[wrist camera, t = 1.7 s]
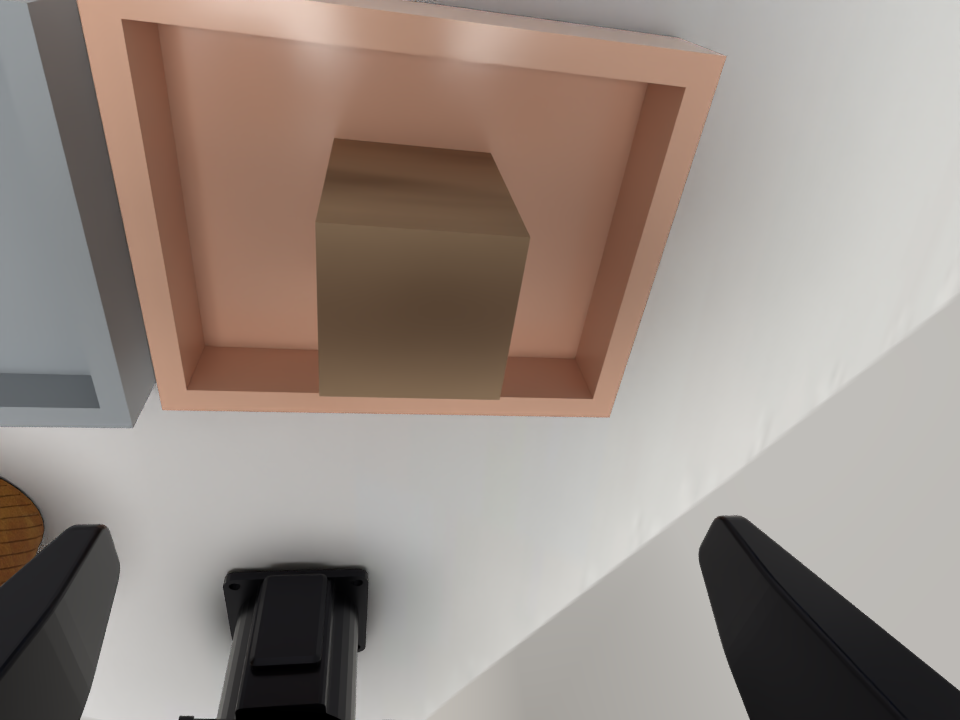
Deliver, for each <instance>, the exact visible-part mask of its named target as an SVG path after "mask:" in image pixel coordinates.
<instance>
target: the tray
mask: <svg viewBox="0 0 960 720" xmlns="http://www.w3.org/2000/svg"><path fill="white" fill-rule="evenodd" d="M155 382H156V379H155V374H154V369H153V365H152V360H151V355H150V350H149V346H148V341H147V336H146V331H145V327H144V322H143V317H142V312H141V307H140V303H139V298H138V293H137V288H136V284H135V279H134V274H133V269H132V265H131V260H130V255H129V250H128V245H127V241H126V236H125V231H124V226H123V222H122V217H121V212H120V207H119V203H118V198H117V193H116V188H115V184H114V179H113V174H112V169H111V164H110V160H109V155H108V150H107V145H106V141H105V136H104V131H103V126H102V122H101V117H100V112H99V107H98V102H97V98H96V93H95V88H94V83H93V79H92V74H91V69H90V64H89V60H88V55H87V50H86V45H85V41H84V36H83V31H82V26H81V21H80V17H79V12H78V7H77V2H76V0H0V427H81V428H133V427H134V425H135V423H136V421H137V419H138V417H139V415H140V413H141V411H142V409H143V407H144V405H145V403H146V401H147V399H148V397H149V395H150V392H151V390H152V388H153V386H154V384H155Z"/></svg>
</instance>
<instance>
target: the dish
mask: <svg viewBox="0 0 960 720" xmlns="http://www.w3.org/2000/svg"><path fill="white" fill-rule="evenodd" d="M77 4H78V9H79V13H80V18H81V23H82V28H83V33H84V37H85V42H86V47H87V52H88V57H89V61H90V66H91V71H92V76H93V80H94V85H95V90H96V95H97V100H98V104H99V109H100V114H101V119H102V123H103V128H104V133H105V138H106V143H107V147H108V152H109V157H110V162H111V166H112V171H113V176H114V181H115V186H116V190H117V195H118V200H119V205H120V209H121V214H122V219H123V224H124V229H125V233H126V238H127V243H128V248H129V252H130V257H131V262H132V267H133V272H134V276H135V281H136V286H137V291H138V295H139V300H140V305H141V310H142V315H143V319H144V324H145V329H146V334H147V338H148V343H149V348H150V353H151V358H152V362H153V367H154V372H155V377H156V381H157V386H158V391H159V396H160V401H161V405H162V410H190V411H250V412H311V413H372V414H433V415H493V416H554V417H610V414H611V410H612V407H613V404H614V401H615V398H616V395H617V392H618V389H619V386H620V383H621V380H622V377H623V374H624V370H625V367H626V364H627V361H628V358H629V355H630V352H631V349H632V346H633V343H634V340H635V337H636V334H637V330H638V327H639V324H640V321H641V318H642V315H643V312H644V309H645V306H646V303H647V300H648V297H649V293H650V290H651V287H652V284H653V281H654V278H655V275H656V272H657V269H658V266H659V263H660V260H661V257H662V253H663V250H664V247H665V244H666V241H667V238H668V235H669V232H670V229H671V226H672V223H673V220H674V217H675V213H676V210H677V207H678V204H679V201H680V198H681V195H682V192H683V189H684V186H685V183H686V180H687V177H688V173H689V170H690V167H691V164H692V161H693V158H694V155H695V152H696V149H697V146H698V143H699V140H700V136H701V133H702V130H703V127H704V124H705V121H706V118H707V115H708V112H709V109H710V106H711V103H712V100H713V96H714V93H715V90H716V87H717V84H718V81H719V78H720V75H721V72H722V69H723V66H724V63H725V60H726V56H725V55H722V54H720V53H717V52H714V51H712V50H709V49H707V48H704V47H702V46H699V45H697V44H694V43H691V42H689V41H686V40H684V39H681V38H678V37H671V36H663V35H656V34H649V33H642V32H634V31H627V30H620V29H612V28H605V27H598V26H591V25H583V24H576V23H569V22H561V21H554V20H547V19H539V18H532V17H525V16H518V15H510V14H503V13H496V12H488V11H481V10H474V9H467V8H459V7H452V6H445V5H437V4H430V3H423V2H416V1H408V0H77ZM334 138H339V139H349V140H360V141H370V142H381V143H391V144H402V145H412V146H423V147H433V148H444V149H454V150H465V151H475V152H486V153H491V155H492V157H493V159H494V161H495V163H496V165H497V167H498V169H499V172H500V174H501V176H502V178H503V180H504V182H505V184H506V187H507V189H508V191H509V193H510V195H511V197H512V199H513V201H514V204H515V206H516V208H517V210H518V212H519V214H520V216H521V218H522V221H523V223H524V225H525V227H526V229H527V231H528V233H529V235H530V242H529V248H528V253H527V258H526V263H525V269H524V274H523V279H522V285H521V290H520V295H519V300H518V306H517V311H516V316H515V322H514V327H513V332H512V337H511V343H510V348H509V353H508V358H507V364H506V369H505V374H504V380H503V385H502V390H501V395H500V400H472V399H424V398H377V397H329V396H319V364H318V320H317V275H316V231H315V221H316V217H317V212H318V208H319V203H320V199H321V194H322V190H323V186H324V181H325V177H326V172H327V168H328V163H329V159H330V154H331V150H332V145H333V141H334Z"/></svg>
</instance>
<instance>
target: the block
mask: <svg viewBox="0 0 960 720" xmlns="http://www.w3.org/2000/svg"><path fill="white" fill-rule="evenodd" d="M315 231H316V275H317V320H318V364H319V396H329V397H377V398H424V399H472V400H500V395H501V390H502V385H503V380H504V374H505V369H506V364H507V358H508V353H509V348H510V343H511V337H512V332H513V327H514V322H515V316H516V311H517V306H518V300H519V295H520V290H521V285H522V279H523V274H524V269H525V263H526V258H527V253H528V248H529V242H530V235H529V233H528V231H527V229H526V227H525V225H524V223H523V221H522V218H521V216H520V214H519V212H518V210H517V208H516V206H515V204H514V201H513V199H512V197H511V195H510V193H509V191H508V189H507V187H506V184H505V182H504V180H503V178H502V176H501V174H500V172H499V169H498V167H497V165H496V163H495V161H494V159H493V157H492V155H491V153H486V152H475V151H465V150H454V149H444V148H433V147H423V146H412V145H402V144H391V143H381V142H370V141H360V140H349V139H339V138H334V141H333V145H332V150H331V154H330V159H329V163H328V168H327V172H326V177H325V181H324V186H323V190H322V194H321V199H320V203H319V208H318V212H317V217H316V221H315Z"/></svg>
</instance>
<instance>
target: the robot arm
mask: <svg viewBox="0 0 960 720" xmlns="http://www.w3.org/2000/svg"><path fill="white" fill-rule="evenodd" d="M699 563H700V567H701V571H702V574H703V578H704V582H705V585H706V589H707V592H708V596H709V599H710V603H711V607H712V611H713V614H714V618H715V621H716V625H717V629H718V632H719V636H720V639H721V643H722V646H723V649H724V652H725V655H726V658H727V661H728V664H729V667H730V669H731V672H732V674H733V677H734V679H735V682H736V685H737V687H738V690H739V693H740V695H741V698H742V700H743V703H744V706H745V708H746V711H747V713H748V716H749V718H750V720H960V691H959V690H958V689H957V688H956V687H954V686H953V685H952V684H951V683H949V682H948V681H947V680H946V679H944V678H943V677H942V676H941V675H939V674H938V673H937V672H936V671H935V670H933V669H932V668H931V667H930V666H928V665H927V664H926V663H925V662H923V661H922V660H921V659H920V658H918V657H917V656H916V655H915V654H913V653H912V652H911V651H910V650H909V649H907V648H906V647H905V646H904V645H902V644H901V643H900V642H899V641H897V640H896V639H895V638H894V637H892V636H891V635H890V634H889V633H887V632H886V631H885V630H884V629H882V628H881V627H880V626H879V625H878V624H876V623H875V622H874V621H873V620H871V619H870V618H869V617H868V616H866V615H865V614H864V613H863V612H861V611H860V610H859V609H858V608H856V607H855V606H854V605H852V603H850V602H849V601H848V600H846V599H845V598H844V597H843V596H842V595H840V594H839V593H838V592H837V591H835V590H834V589H833V588H832V587H830V586H829V585H828V584H827V583H826V582H824V581H823V580H822V579H821V578H819V577H818V576H817V575H816V574H814V573H813V572H812V571H810V570H809V569H808V568H807V567H806V566H804V565H803V564H802V563H801V562H799V561H798V560H797V559H796V558H795V557H793V556H792V555H791V554H790V553H788V552H787V551H786V550H784V549H783V548H782V547H781V546H780V545H778V544H777V543H776V542H775V541H773V540H772V539H771V538H770V537H768V536H767V535H766V534H765V533H764V532H762V531H761V530H760V529H759V528H757V527H756V526H755V525H754V524H752V523H751V522H750V521H749V520H747V519H746V518H744V517H742V516H737V515H734V516H718V517H717V518H715V519H714V521H713V522H712V524H711V526H710V528H709V530H708V532H707V534H706V536H705V538H704V540H703V542H702V543H701V546H700V548H699ZM119 574H120V563H119V559H118V556H117V552H116V549H115V546H114V543H113V540H112V537H111V534H110V531H109V529H108V528H107V527H106V526H105V525H101V524H88V525H74V526H71V527H70V528H68V529H66V530H65V531H64V532H63V533H62V534H60V535H59V536H58V537H57V538H56V539H55V540H53V541H52V542H51V543H50V544H49V545H48V546H47V547H45V548H44V549H43V550H42V551H41V552H40V553H38V554H37V555H36V556H35V557H34V558H33V559H32V560H30V561H29V562H28V563H27V564H26V565H25V566H23V567H22V568H21V569H20V570H19V571H18V572H17V573H15V574H14V575H13V576H12V577H11V578H10V579H8V580H7V581H6V582H5V583H4V584H3V585H2V586H0V720H80V718H81V715H82V713H83V710H84V707H85V704H86V701H87V698H88V695H89V693H90V689H91V686H92V682H93V679H94V675H95V671H96V667H97V663H98V659H99V655H100V651H101V647H102V643H103V640H104V636H105V632H106V628H107V624H108V620H109V616H110V612H111V608H112V604H113V600H114V596H115V592H116V588H117V584H118V580H119ZM223 590H224V595H225V601H226V607H227V613H228V618H229V624H230V630H231V636H232V641H233V642H232V647H231V651H230V656H229V661H228V666H227V671H226V675H225V680H224V685H223V690H222V695H221V699H220V704H219V709H218V714H217V719H194V716H180V717H179V720H355V708H356V679H357V652H360V651H363V650H364V649H365V645H366V623H367V600H368V573H367V572H366V571H365V570H362V569H342V570H307V571H271V572H236V573H230V574H228V575H227V576H226V577H225V581H224V585H223Z"/></svg>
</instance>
